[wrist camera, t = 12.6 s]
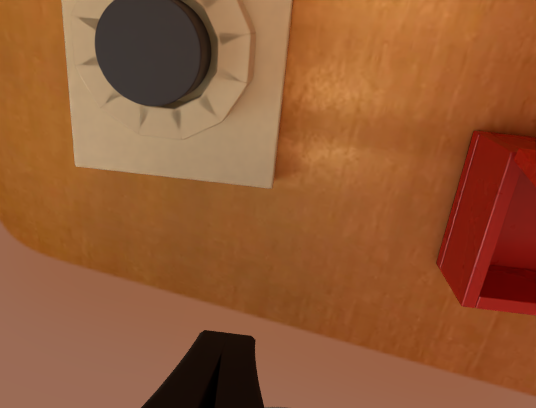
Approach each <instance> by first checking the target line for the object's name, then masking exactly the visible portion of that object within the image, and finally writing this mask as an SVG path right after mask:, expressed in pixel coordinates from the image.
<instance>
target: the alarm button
mask: <svg viewBox="0 0 536 408" xmlns="http://www.w3.org/2000/svg"><path fill="white" fill-rule="evenodd" d="M95 53H96V57H97V61H98V64H99V67H100V69H101V71H102V73H103V75H104V76H105V78H106V80H107V81H108V82H109V84H110V85H111V86H112V87H113V88H114V89H115V90H116V91H117V92H118V93H119V94H121V95H122V96H123V97H125V98H127V99H128V100H130V101H132V102H135V103H137V104H141V105H145V106H163V105H167V104H170V103H173V102H175V101H177V100H179V99H181V98H182V97H184V96H186V95H188V94H189V93H191V92H192V91H194V90H195V89H196V88H197V87H198V86H199V85H200V84H201V83H202V81H203V80H204V78H205V76H206V75H207V72H208V70H209V66H210V62H211V43H210V38H209V34H208V32H207V29H206V27H205V25H204V23H203V21H202V20H201V18H200V17H199V16H198V14H197V13H196V12H195V11H194V10H193V9H192V8H191V7H190V6H188V5H187V4H185V3H184V2H182V1H180V0H114V1H113V2H111V3H110V4H109V5H108V6H107V8H106V9H105V10H104V12H103V13H102V15H101V17H100V19H99V21H98V24H97V28H96V32H95Z"/></svg>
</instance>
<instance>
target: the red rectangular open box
mask: <svg viewBox="0 0 536 408" xmlns="http://www.w3.org/2000/svg"><path fill="white" fill-rule="evenodd" d="M519 148H521V149H530V150H536V137H530V136H521V135H511V134H502V133H493V132H484V131H474V132H473V136H472V139H471V143H470V146H469V150H468V153H467V157H466V160H465V164H464V167H463V171H462V174H461V178H460V181H459V185H458V189H457V192H456V196H455V199H454V203H453V206H452V210H451V213H450V217H449V220H448V224H447V227H446V231H445V234H444V238H443V242H442V245H441V249H440V252H439V256H438V259H437V265H438V267H439V269H440V270H441V272H442V274H443V276H444V277H445V279H446V281H447V282H448V284H449V286H450V287H451V289H452V291H453V293H454V294H455V296H456V298H457V299H458V301H459V303H460V304H461V306H463V307H472V308H475V307H476V308H479V309H487V310H495V311H504V312H512V313H520V314H529V315H536V187H535V186H534V185H533V184H532V182H531V181H530V180H529V179H528V177H527V176H526V175H525V174H524V172H523V171H522V170H521V169H520V168H519V166H518V165H517V164H516V163H515V161H514V158H515V155H516V153H517V151H518V149H519Z"/></svg>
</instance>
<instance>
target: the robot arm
mask: <svg viewBox="0 0 536 408" xmlns="http://www.w3.org/2000/svg"><path fill="white" fill-rule="evenodd" d="M141 408H264V405H263V400H262V397H261V391H260V387H259V382H258V376H257V369H256V361H255V339H254V338H253V337H252V336H248V335H240V334H232V333H224V332H216V331H207V330H204V331H203V332H201V333H200V334H199V336H198V337H197V339H196V341H195V342H194V344H193V345H192V347H191V348H190V349H189V351H188V352H187V353H186V355H185V356H184V358H183V359H182V360H181V361H180V363H179V364H178V365H177V367H176V368H175V369H174V370H173V372H172V373H171V374H170V375H169V377H168V378H167V379H166V380H165V381H164V383H163V384H162V385H161V386H160V387H159V389H158V390H157V391H156V392H155V393H154V394H153V395H152V396H151V398H150V399H149V400H148V401H147V402H146V403H145V404H144V405H143V406H142V407H141Z"/></svg>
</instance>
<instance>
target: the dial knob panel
mask: <svg viewBox="0 0 536 408" xmlns="http://www.w3.org/2000/svg"><path fill="white" fill-rule="evenodd" d="M113 1H114V0H62V12H63V25H64V37H65V49H66V61H67V73H68V85H69V98H70V110H71V122H72V134H73V146H74V158H75V166H77V167H85V168H94V169H103V170H112V171H121V172H129V173H138V174H147V175H156V176H164V177H173V178H182V179H191V180H200V181H208V182H217V183H226V184H235V185H243V186H252V187H261V188H270V189H271V188H272V187H273V183H274V175H275V166H276V157H277V147H278V138H279V128H280V119H281V110H282V100H283V91H284V81H285V72H286V62H287V53H288V44H289V34H290V25H291V15H292V6H293V0H180V1H182V2H184V3H185V4H187V5H188V6H190V7H191V8H192V9H193V10H194V11H195V12H196V13H197V14H198V16H199V17H200V18H201V20H202V21H203V23H204V25H205V27H206V29H207V32H208V34H209V38H210V43H211V62H210V66H209V70H208V72H207V75H206V76H205V78H204V80H203V81H202V83H201V84H200V85H199V86H198V87H197V88H196V89H195V90H194V91H192V92H191V93H189V94H188V95H186V96H184V97H182V98H181V99H179V100H177V101H175V102H173V103H170V104H167V105H163V106H145V105H141V104H137V103H135V102H132V101H130V100H128V99H127V98H125V97H123V96H122V95H121V94H119V93H118V92H117V91H116V90H115V89H114V88H113V87H112V86H111V85H110V84H109V82H108V81H107V80H106V78H105V76H104V75H103V73H102V71H101V69H100V67H99V64H98V61H97V57H96V53H95V32H96V28H97V24H98V21H99V19H100V17H101V15H102V13H103V12H104V10H105V9H106V8H107V6H108V5H109V4H110V3H111V2H113Z"/></svg>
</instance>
